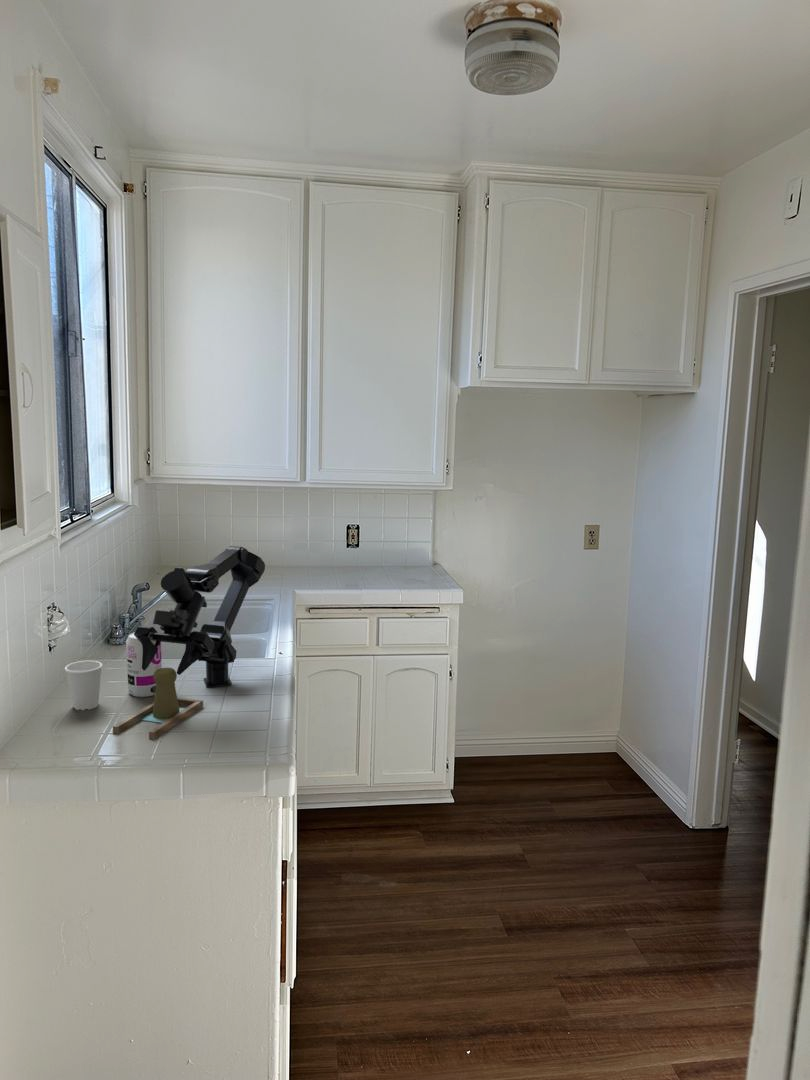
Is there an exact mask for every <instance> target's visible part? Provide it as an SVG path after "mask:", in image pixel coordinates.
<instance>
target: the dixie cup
mask: <svg viewBox="0 0 810 1080" xmlns="http://www.w3.org/2000/svg"><path fill="white" fill-rule="evenodd" d="M102 667H103V663H102V662H100V661H97V660H80V661H75V662H74V661H73V662H71V663H69V664H67V665H66V666H65V667H64V671H65V672H66V678H67V683H68V688H69V693H70V698H71V702H72V703H71V704H72V707H74V708H76V709H84V710H83V711H86V710H85V709H88V710H92V709H95V708H97V707H98V706H99V704H100V703H99V702H100V701H99V700H100V692H101V690H100V689H101V677H102ZM74 708H73V709H74ZM76 709H75V710H76Z"/></svg>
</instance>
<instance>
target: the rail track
mask: <svg viewBox="0 0 810 1080" xmlns="http://www.w3.org/2000/svg"><path fill="white" fill-rule="evenodd" d="M177 700H178V706H182V707H185V708H182V707H179V711H180V712H179V713H177V714H176V715H174V716H173V717H171V718H170V719H157V718H154V717H153V709H154V701H153V702H152V703H150V704H148V705H147V706H145V707H144V708H142V709H139V710H138V711H137V712H135V713H132V715H129V716H128V717H125V719H123V720H121V721H119V722H118V723H116V724H114V725H113V726H112V733H113V734H119V733H121V732H122V731H124V730H126V729H128V728H129V727H131V726H132V725H134V724H137V722H139V721H143V722H150V723H156V724H159V725H157V726H156V727H154V728H153V729H151V730H149V731H148V739H152V740H155V739H156V738H158V737H159V736H161V735H162V734H164V733H165V732H167V731H168V730H170V729H171V728H173V727H174V726H176V725H177V724H179V723H180V722H182V721H183V720H185V719H186V718H188V717H190V716H191V715H192V714H194V713H196V712H197V711H199V710H200V709H201V708H203V707H204V700H202V699H195V698H194V699H193V698H187V697H178V696H177Z"/></svg>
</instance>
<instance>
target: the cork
mask: <svg viewBox="0 0 810 1080" xmlns="http://www.w3.org/2000/svg"><path fill="white" fill-rule="evenodd" d="M177 675H178V674H177V671H176V670H175V668H171V667H162V668H160V669H157V670H156V671H155V672H154V675H153V679H154V682H155V683H156V689H155V695H154V701H153V702H154V709H153V717H154V718H157V719H170V718H171V717H173V716H174V715H176V714H177V713H179V712H180V711H179V708H180V707H179V706H180V705H178V700H177V697H178V694H177V690H176V684H175V682H176V681H177V678H178V676H177Z"/></svg>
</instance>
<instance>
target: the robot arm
mask: <svg viewBox="0 0 810 1080" xmlns="http://www.w3.org/2000/svg"><path fill="white" fill-rule="evenodd" d="M229 571H230V572H231V577H232V580H231V583H230V585H229V587H228V589H227V591H226V594H225V596H224V598H223V599H222V602H221V604H220V606H219V608H218V609H217V610H218V611H217V612H216V614H215V617H214V619H213V622H212V623H204V624H203V625H202V626H201V628H200V631H197V630H193V628H194V629H195V628H197V626H198V623H197V620H198V616H199V614H200V612H201V610H202V608H207V607H208V603H207V601H206V597H205V596H203V595H202V594H201V593H209V594H210V593H212V592H213V591H214V590H215V589H216V588H217V587H218V586H219V584H220V582H219V580H220V578H221V577H222V576H224V575H225V574H226V573H229ZM265 571H266V563H265V562H264V560H263V558H262V557H260V556H258V555H257V554H255V553H253V552H251V551H249V550H248V549H247V548H245V547H243V546H238V545H237V546H234V545H230V546H227V547H225V549H224V551H222V552H221V553H219V554H218V555H217V556H215V557H214V558H212V559H211V560H209V561H208V562H207V563H205V564H200V565H194V566H191V567H189V568H188V569H187V570H185V569H184V568H183V567H174V568H173V571H170V572H168V573H166V574H165V575H164V576H163V577H162V579H161V580H160V586H161V588H162V589H163V591H164V592H165V594H167V596H168V597H169V598H170V600H171V601H172V602H173V603H176V605H175V607H174V609H170V610H169V611H168V610H161V609H160V610H159V609H157V610H155V612H154V618H153V621H152V624H153V625H158V626H160V627H159V628H160V630H161V631H163V632H158V631H157V630H156V628H155V627H154V626H147V625H139V626H137V627H136V629H135V630H134V632H135V633H134V632H133V633H134V636H135V637H136V638H137V639H138V640H139V641H140V642H141V643H142V648H143V656H142V669H143V670H146V669H147V667H148V666H149V664H150V663H151V661H152V659H153V658H154V656H155V654H156V653H157V651H158V648H157V646H159V645H160V643H161V644H162V643H163V642H164V643H170V644H181V645H185V650H184V653H183V655H182V657H181V660H180V663H179V664H178V667H177V671H176V674H177V675H181V674H182V673H184V672H185V671H186V670H187V669H189V667H191V666H192V665H193V664H194V663H196V662H197V661H199V662H205V674H206V675H205V676H206V677H204V678H203V682H204V685H205V687H206V688H215V687H216V686H217V687H223V686H224V687H225V686H232V685H233V682H232V681H231V678H230V676H229V672H230V671H229V664H233V663H235V660H236V659H237V650H236V649H235V647H234V646H233V645H232V643H233V642H232V641H233V639H232V634H231V629H232V627H233V625H234V623H235V620H236V618H237V616H238V613H240V612H239V611H240V610H241V607H242V604H243V603H244V600H245V598H246V596H247V593H248V591H249V589H250V588H251V587H252V586H254V585H255V584H257V583H258V582H259V581H260V579H261V577H262V576H263V574H264V572H265Z"/></svg>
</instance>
